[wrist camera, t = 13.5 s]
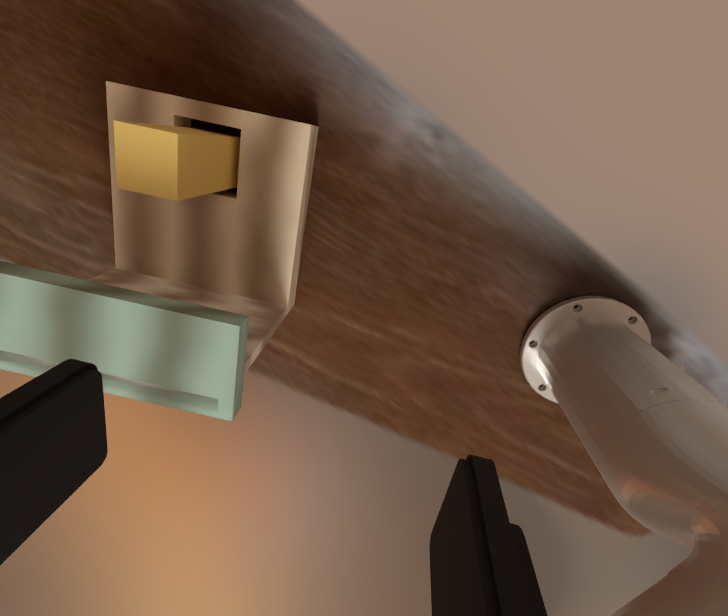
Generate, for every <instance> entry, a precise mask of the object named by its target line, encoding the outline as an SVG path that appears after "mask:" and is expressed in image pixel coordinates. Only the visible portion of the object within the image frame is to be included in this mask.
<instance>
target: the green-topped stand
mask: <svg viewBox="0 0 728 616" xmlns="http://www.w3.org/2000/svg"><path fill="white" fill-rule="evenodd" d="M106 94H107V113H108V131H109V149H110V168H111V186H112V205H113V223H114V242H115V260H116V269H113V270H111V271H108V272H106V273H104V274H101V275H99V276H96V277H94V278H91V279H89V280H83V279H79V278H74V277H70V276H65V275H61V274H56V273H52V272H47V271H43V270H38V269H34V268H29V267H25V266H20V265H16V264H11V263H7V262H2V261H0V369H3V370H8V371H12V372H17V373H21V374H25V375H30V376H34V377H38V376H39V375H41V374H43V373H44V372H46V371H48V370H49V369H51V368H53V367H55V366H56V365H58V364H60V363H61V362H63V361H65V360H67V359H76V360H80V361H84V362H88V363H92V364H95V365H96V367H97V369H98V371H99V372H100V373H101V374H102V382H103V392H105V393H110V394H114V395H118V396H123V397H127V398H132V399H136V400H140V401H145V402H149V403H154V404H158V405H163V406H167V407H172V408H176V409H180V410H185V411H189V412H193V413H198V414H202V415H207V416H211V417H216V418H220V419H225V420H229V421H233V419H234V417H235V416H236V415H237V413H238V411H239V410H240V408H241V403H242V392H243V380H244V374H245V373H246V371H247V370H248V369H249V367H250V366H251V364H252V363H253V362H254V360H255V359H256V357H257V356H258V355H259V353H260V352H261V350H262V349H263V347H264V346H265V345H266V343H267V342H268V340H269V339H270V338H271V336H272V335H273V333H274V332H275V331H276V329H277V328H278V326H279V325H280V324H281V322H282V321H283V319H284V318H285V317H286V315H287V314H288V312H289V311H290V310H291V308H292V307H293V305H294V302H295V295H296V287H297V280H298V273H299V266H300V258H301V251H302V244H303V236H304V229H305V222H306V215H307V207H308V200H309V193H310V185H311V178H312V171H313V164H314V156H315V149H316V142H317V134H318V126H314V125H310V124H305V123H301V122H296V121H291V120H287V119H282V118H277V117H272V116H268V115H263V114H258V113H254V112H249V111H244V110H240V109H235V108H230V107H226V106H221V105H216V104H212V103H207V102H202V101H198V100H193V99H188V98H184V97H179V96H174V95H170V94H165V93H160V92H156V91H151V90H146V89H142V88H137V87H132V86H127V85H123V84H118V83H113V82H109V81H106ZM191 118H192V119H196V120H201V121H206V122H210V123H215V124H220V125H224V126H229V127H234V128H238V129H241V140H240V154H239V169H238V184H237V193H234V192H229V191H225V190H223V191H219V192H214V193H210V194H206V195H201V196H197V197H193V198H188V199H184V200H179V201H175V200H170V199H166V198H161V197H156V196H152V195H147V194H142V193H138V192H133V191H128V190H124V189H119V188H117V183H116V163H115V143H114V124H113V120H116V121H127V122H137V123H147V124H157V125H168V126H178V127H188V128H191Z"/></svg>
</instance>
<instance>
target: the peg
mask: <svg viewBox="0 0 728 616" xmlns="http://www.w3.org/2000/svg"><path fill="white" fill-rule="evenodd" d="M113 124H114V143H115V163H116V183H117V188H119V189H124V190H128V191H133V192H138V193H142V194H147V195H152V196H156V197H161V198H166V199H170V200H175V201H179V200H184V199H188V198H193V197H197V196H201V195H206V194H210V193H214V192H219V191H223V190H227V189H232V188H236V187H237V184H238V169H239V154H240V140H241V137H237V136H232V135H228V134H223V133H218V132H213V131H209V130H204V129H198V128H188V127H178V126H168V125H157V124H147V123H137V122H127V121H116V120H113Z"/></svg>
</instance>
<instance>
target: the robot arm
mask: <svg viewBox="0 0 728 616" xmlns="http://www.w3.org/2000/svg"><path fill="white" fill-rule="evenodd" d="M575 305H576V306H575ZM574 306H575V307H574ZM532 340H533V341H532ZM530 341H532V342H530ZM520 364H521V368H522V371H523V373H524V375H525V378H526V379H527V381H528V382H529V384H530V386H531V387H532V388H533V389H534V390H535V391H536V392H537V393H538V394H540V395H541V396H543V397H544V398H546V399H548V400H551V401H553V402H555V403H559V405H560V407H561V408H562V410H563V412H564V413H565V415H566V417H567V418H568V420H569V422H570V423H571V425H572V427H573V428H574V430H575V432H576V433H577V435H578V437H579V438H580V440H581V442H582V443H583V445H584V447H585V448H586V450H587V452H588V453H589V455H590V456H591V458H592V460H593V461H594V463H595V465H596V466H597V468H598V470H599V471H600V473H601V475H602V476H603V478H604V480H605V481H606V483H607V485H608V486H609V488H610V490H611V491H612V493H613V495H614V496H615V498H616V499H617V501H618V502H619V503H620V505H621V506H622V507H623V508H624V509H625V510H626V511H627V512H628V513H629V514H630V515H631V516H632V517H633V518H634V519H636V520H637V521H638V522H639V523H641V524H642V525H643V526H645V527H647V528H648V529H650V530H652V531H654V532H656V533H657V534H659V535H661V536H663V537H666V538H668V539H670V540H672V541H675V542H677V543H680V544H682V545H685V546H688V547H690V548H693V551H692V553H691V554H690V555H689V556H688V558H686V559H685V560H684V561H683V562H681V563H680V564H679V565H677V566H676V567H675V568H674V569H672V570H671V571H670V572H669V573H668V575H667V576H666V577H664V578H662V579H661V580H660V581H658V582H657V583H655V584H654V585H652V586H651V587H649V588H648V589H647V590H645V591H644V592H642V593H641V594H640V595H638V596H637V597H635V598H634V599H632V600H631V601H629V602H628V603H626V604H625V605H623V606H622V607H621V608H619V609H618V610H616V611H615V612H614V613H612V614H611V615H609V616H728V406H727V405H725V404H724V403H723V402H722V401H720V400H719V399H718V398H717V397H715V396H714V395H713V394H712V393H710V392H709V391H708V390H707V389H705V388H704V387H703V386H702V385H700V384H699V383H698V382H697V381H695V380H694V379H693V378H692V377H690V376H689V375H688V374H687V373H685V370H684V367H683V365H681V364H677V363H673V362H672V361H670V360H669V359H668V358H667V357H665V356H664V355H663V354H662V353H660V352H659V351H658V350H657V349H655V348H654V347H653V346H652V344H651V335H650V332H649V329H648V326H647V324H646V323H645V321H644V320H643V318H642V317H641V316H640V315H639V314H638V313H637V312H636V311H635V310H633V309H632V308H631V307H629V306H628V305H626V304H625V303H623V302H620V301H618V300H616V299H613V298H609V297H604V296H581V297H575V298H572V299H568V300H565V301H563V302H560V303H558V304H556V305H554V306H552V307H551V308H549V309H548V310H546V311H545V312H544V313H542V314H541V315H540V316H539V317H538V318H537V319H536V320H535V321H534V322H533V323H532V325H531V326H530V327H529V329H528V330H527V332H526V334H525V336H524V338H523V340H522V344H521V349H520ZM106 456H107V438H106V424H105V410H104V396H103V382H102V374H101V373H100V372H99V371H98V369H97V367H96V365H95V364H92V363H88V362H84V361H80V360H76V359H67V360H65V361H63V362H61V363H60V364H58V365H56V366H55V367H53V368H51V369H49V370H48V371H46V372H44V373H43V374H41V375H39V376H38V377H36V378H34V379H33V380H31V381H29V382H27V383H26V384H24V385H22V386H21V387H19V388H17V389H15V390H14V391H12V392H11V393H9V394H7V395H5V396H4V397H2V398H1V399H0V565H1V564H2V563H3V562H4V561H5V560H6V559H7V558H8V557H9V556H10V555H11V554H12V553H13V552H14V551H15V550H16V549H17V548H18V547H19V546H20V545H21V544H22V543H23V542H24V541H25V540H26V539H27V538H28V537H29V536H30V535H31V534H32V533H33V532H34V531H35V530H36V529H37V528H38V527H39V526H40V525H41V524H42V523H43V522H44V521H45V520H46V519H47V518H48V517H49V516H50V515H51V514H52V513H53V512H55V511H56V509H58V508H59V507H60V505H62V504H63V503H64V501H66V500H67V499H68V498H69V496H71V495H72V494H73V493H74V492H75V491H76V490H77V489H78V488H79V487H80V486H81V485H82V484H83V483H84V482H85V481H86V480H87V479H88V478H89V477H90V476H91V475H92V474H93V473H94V472H95V471H96V470H97V469H98V468H99V467H100V466H101V465H102V463H103V462H104V460H105V458H106ZM430 571H431V572H430V574H431V599H432V600H431V601H432V616H547V613H546V609H545V606H544V602H543V599H542V596H541V592H540V589H539V585H538V582H537V578H536V575H535V571H534V568H533V564H532V561H531V558H530V554H529V550H528V547H527V543H526V540H525V536H524V534H523V532H522V529H521V528H520V527H519V526H518V525H515V524H511V523H510V522H509V519H508V515H507V511H506V507H505V503H504V500H503V496H502V491H501V488H500V484H499V480H498V476H497V472H496V468H495V464H494V462H493V461H492V460H491V459H486V458H482V457H478V456H474V455H468V456H467V458H466V460H465V459H459V461H458V463H457V466H456V468H455V471H454V474H453V476H452V479H451V482H450V485H449V487H448V490H447V493H446V495H445V498H444V501H443V503H442V506H441V509H440V511H439V514H438V517H437V520H436V522H435V525H434V528H433V530H432V533H431V538H430Z"/></svg>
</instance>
